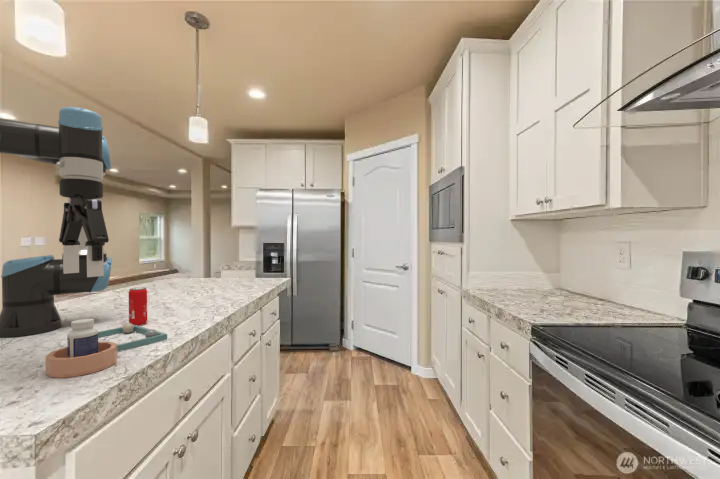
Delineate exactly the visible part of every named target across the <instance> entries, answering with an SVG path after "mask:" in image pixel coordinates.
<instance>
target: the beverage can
mask: <svg viewBox="0 0 720 479" xmlns="http://www.w3.org/2000/svg"><path fill="white" fill-rule="evenodd" d="M147 322H148V290H147V287H133V288H129V289H128V323H131V324H133V325H139V326H142V325H141V324H144V325H146V324H147ZM145 323H146V324H145Z"/></svg>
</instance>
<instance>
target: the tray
mask: <svg viewBox="0 0 720 479" xmlns="http://www.w3.org/2000/svg"><path fill="white" fill-rule="evenodd" d="M122 327H123V326H120V327H116V328H111V329H106V330H101V331H98V337H99V338H104V337H109V336H113V335H117V334H116V333H118V334H121V333H120V332H123V330H122ZM151 329H152V328H146V327H143V326H141V325H139V326H136V325H134V330H133V331H132V332H135V331H136V332H135V333H138V332H139V333H138V334H141V333H142V335H145V334H146V332H147V331H149V330H151ZM156 331H157V330H156ZM123 333H124V332H123ZM157 333H158V335H157V336H153V337H149V338H146V337H144V338H141V339H136V340H133V341H129V342H124V343H121V344H117V351H119V352H122V351H121V350H123V351H126V349H127V350H129V349H130V348H131V349H134V347H135V348H138V346H139V347H143V346H145V345H150V344H154V343H158V342H163V341H165V340H168V333H165V332H161V331H159V330H158V331H157ZM112 334H113V335H112ZM108 335H109V336H108ZM103 336H104V337H103Z"/></svg>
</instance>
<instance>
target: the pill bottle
mask: <svg viewBox="0 0 720 479" xmlns="http://www.w3.org/2000/svg"><path fill="white" fill-rule="evenodd" d="M94 326H95V319H94V318H83V319H81V318H79V319H77V320H75V319H74V320H73V321H71V322H70V328H71V331H69V332H68V333H67V335H66V345H67V346H66V347H67V358H72V357H79V356H86V355H90V354H94V353H98V342H99V338H98V332H99V330H98V329H97V328H96V327H94Z"/></svg>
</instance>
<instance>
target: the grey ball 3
mask: <svg viewBox="0 0 720 479" xmlns="http://www.w3.org/2000/svg"><path fill="white" fill-rule="evenodd" d="M150 329H151V330H149V331H147V332H146V334H144V335H145V337H144V338H149V337H153V336H157V335H158V333H157V330H156V329H154V328H153V329H152V328H150Z"/></svg>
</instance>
